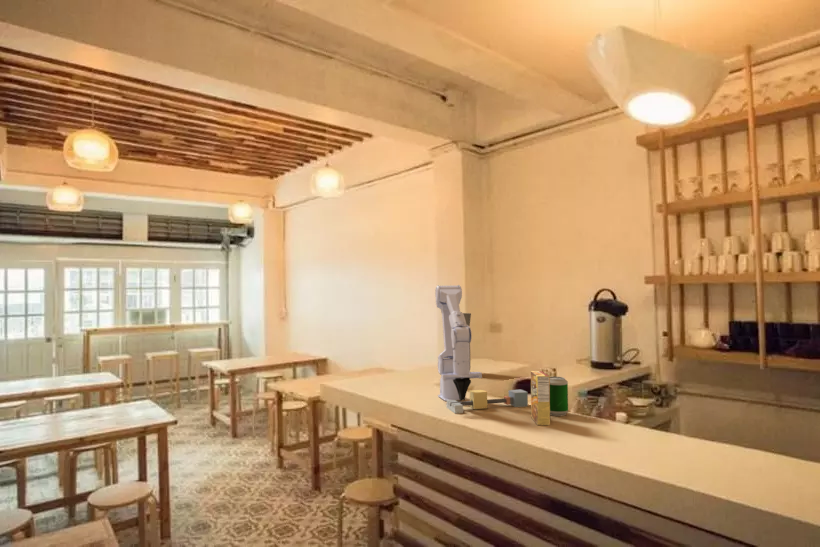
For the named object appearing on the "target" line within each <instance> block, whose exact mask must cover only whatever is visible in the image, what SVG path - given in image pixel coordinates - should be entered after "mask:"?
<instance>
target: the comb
mask: <svg viewBox="0 0 820 547" xmlns="http://www.w3.org/2000/svg"><path fill="white" fill-rule="evenodd" d="M451 402H458V400H447V401H446V405H445V407H446V409H448V410H449V411H451V412H452V413H453V414H463V413H464V406H463V405H462V404H460V403H451Z"/></svg>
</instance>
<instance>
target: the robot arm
mask: <svg viewBox="0 0 820 547" xmlns="http://www.w3.org/2000/svg"><path fill="white" fill-rule="evenodd" d="M434 290H435V292H434V294H435V295H434V296H435V297H434V298H435V305H436V308H437V309H439V310H440V311H441V312H440V313H441V320H442V321H441V322H442V333H443V334H442V335H443V345H444V346H443V348H444V350H443V351H442V352H440V353H439V354H438V356H437V370H438V374H439V375H441V376H440V379H439V394H437V397H438V398H440V399H441V400H444V402H447V400H456V401H466V395H467V393H468V390H469V387H470V385H471V383H472V380H471V379H483V373H482V372H480V371H471V350H470V351H469V343H470V344H471V342H472V329H471V327H470V326H468V325H467V324H466V321H465V317H464V314H463V313H464V312H461V309H460V304H461V300H462V298H463V289H462V286H461V285H460V284H458V285H437V284H436V286H435V289H434Z"/></svg>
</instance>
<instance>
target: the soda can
mask: <svg viewBox="0 0 820 547" xmlns="http://www.w3.org/2000/svg"><path fill="white" fill-rule="evenodd" d="M568 384H569V382H568V380H566V377H563V376H550V416H553V417H554V416H555V417H564V416H566V415H567V414H568V413H569V390H568V389H569V387H568V386H569V385H568Z"/></svg>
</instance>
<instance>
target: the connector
mask: <svg viewBox="0 0 820 547" xmlns="http://www.w3.org/2000/svg"><path fill="white" fill-rule="evenodd" d="M528 393H529V392H528V391H526V390H524V389H509V390H508V395H507V396H508V397H510V405H509V406H512V407H514V408H521V407H522V408H523V407H528V404H529V403H528V402H529V401H528V398H529V397H528V396H529V394H528Z"/></svg>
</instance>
